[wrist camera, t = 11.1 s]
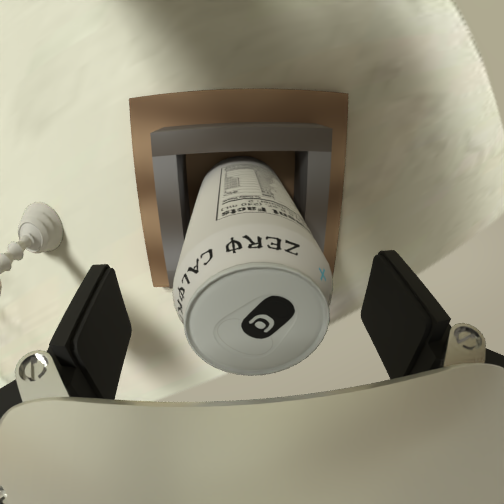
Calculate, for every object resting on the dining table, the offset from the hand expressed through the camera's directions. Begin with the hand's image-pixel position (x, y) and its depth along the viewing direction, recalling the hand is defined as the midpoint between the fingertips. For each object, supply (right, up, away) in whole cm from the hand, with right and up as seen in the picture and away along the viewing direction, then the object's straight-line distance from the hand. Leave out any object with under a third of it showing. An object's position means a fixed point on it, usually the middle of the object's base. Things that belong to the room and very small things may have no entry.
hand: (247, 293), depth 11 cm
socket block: (-1, +6, +14) cm, 15 cm away
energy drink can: (-1, +6, +13) cm, 14 cm away
